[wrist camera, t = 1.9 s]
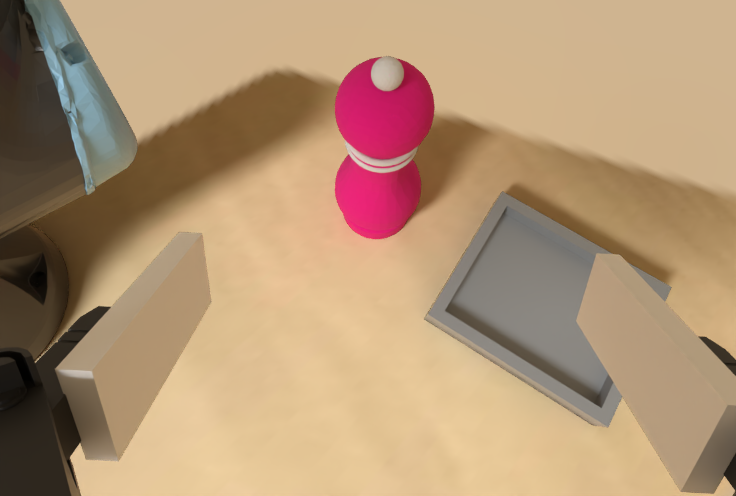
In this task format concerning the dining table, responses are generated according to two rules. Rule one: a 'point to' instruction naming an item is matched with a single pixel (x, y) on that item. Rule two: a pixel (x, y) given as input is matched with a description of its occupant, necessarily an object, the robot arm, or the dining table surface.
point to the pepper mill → (381, 144)
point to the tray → (531, 306)
